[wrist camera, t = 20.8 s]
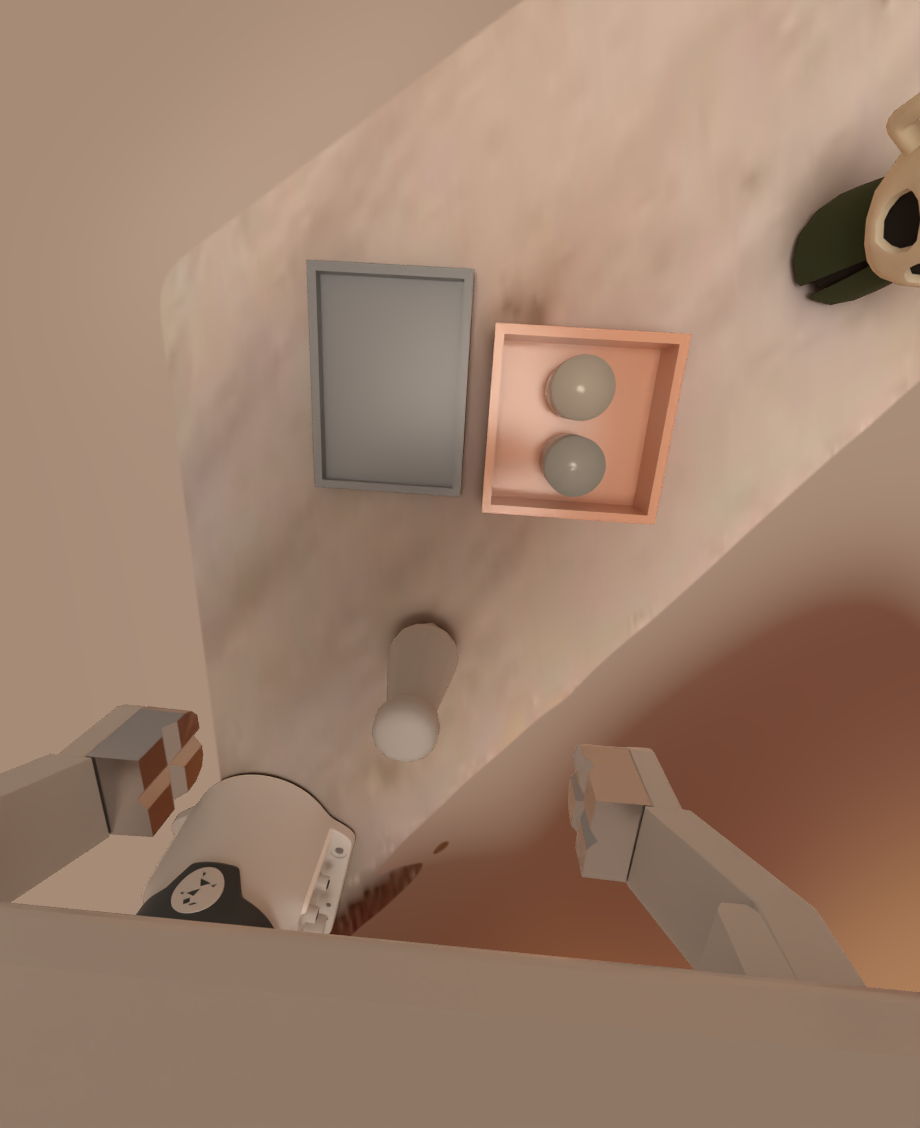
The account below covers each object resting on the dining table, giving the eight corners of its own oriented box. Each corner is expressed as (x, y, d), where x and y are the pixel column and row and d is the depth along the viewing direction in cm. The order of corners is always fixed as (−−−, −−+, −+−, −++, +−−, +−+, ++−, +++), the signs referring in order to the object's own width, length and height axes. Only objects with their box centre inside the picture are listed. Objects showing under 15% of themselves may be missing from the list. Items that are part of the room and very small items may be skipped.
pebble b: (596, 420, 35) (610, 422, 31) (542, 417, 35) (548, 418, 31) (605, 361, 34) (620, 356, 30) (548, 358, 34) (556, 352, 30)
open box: (637, 512, 37) (654, 524, 34) (481, 501, 38) (481, 512, 34) (668, 342, 34) (691, 334, 30) (494, 331, 34) (495, 322, 30)
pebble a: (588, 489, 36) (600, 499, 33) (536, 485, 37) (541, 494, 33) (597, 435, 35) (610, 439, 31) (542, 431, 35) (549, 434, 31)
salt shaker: (410, 680, 43) (381, 789, 31) (382, 626, 42) (339, 719, 29) (470, 658, 42) (463, 763, 30) (443, 603, 41) (425, 690, 28)
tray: (461, 493, 38) (460, 497, 36) (320, 484, 38) (314, 486, 37) (474, 274, 33) (473, 268, 31) (313, 265, 33) (306, 259, 32)
